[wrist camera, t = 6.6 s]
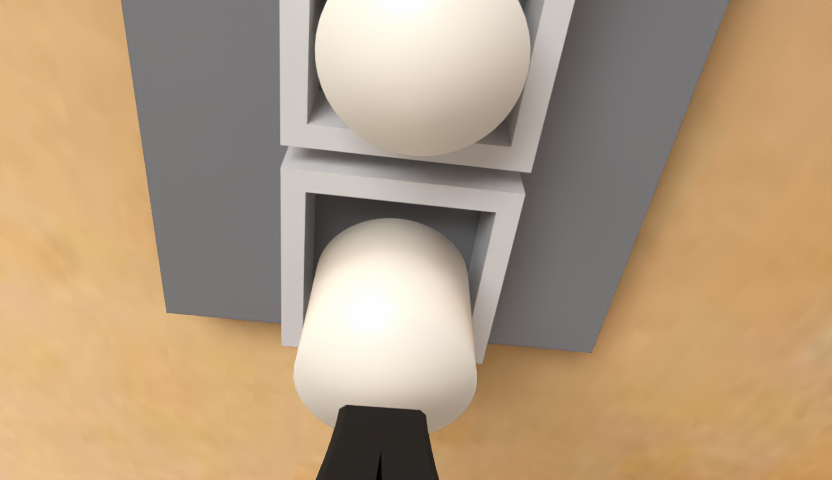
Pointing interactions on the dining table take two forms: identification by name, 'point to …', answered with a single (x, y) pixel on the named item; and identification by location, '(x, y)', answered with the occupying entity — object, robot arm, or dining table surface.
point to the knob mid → (422, 69)
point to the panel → (408, 161)
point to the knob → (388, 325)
